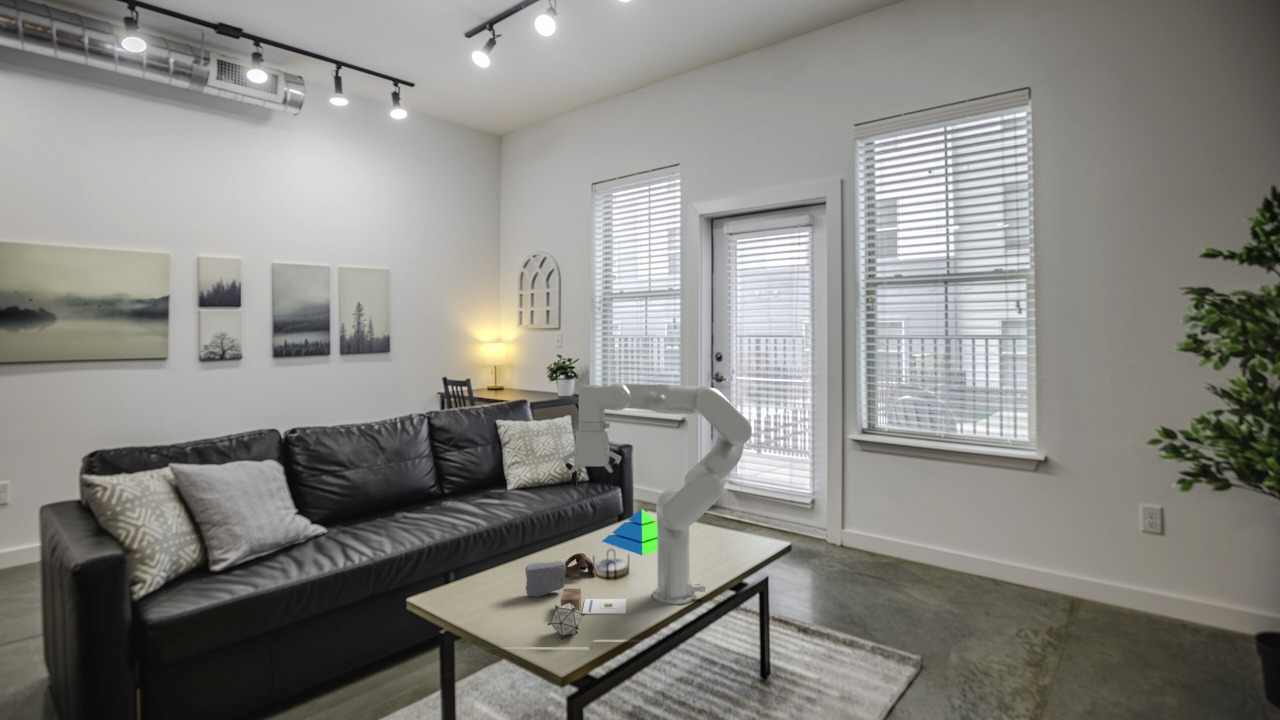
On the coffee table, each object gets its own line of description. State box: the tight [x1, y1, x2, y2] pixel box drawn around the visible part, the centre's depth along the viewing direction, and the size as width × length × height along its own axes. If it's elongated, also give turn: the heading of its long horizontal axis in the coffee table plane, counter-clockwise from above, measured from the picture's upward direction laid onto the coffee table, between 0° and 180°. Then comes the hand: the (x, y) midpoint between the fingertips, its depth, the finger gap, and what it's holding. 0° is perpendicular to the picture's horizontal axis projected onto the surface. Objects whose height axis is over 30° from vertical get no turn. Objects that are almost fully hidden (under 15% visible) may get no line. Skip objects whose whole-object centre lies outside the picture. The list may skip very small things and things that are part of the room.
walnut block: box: [560, 588, 582, 613], centre depth 175 cm, size 5×5×8 cm
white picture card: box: [581, 598, 627, 615], centre depth 178 cm, size 12×10×1 cm
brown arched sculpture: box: [564, 552, 597, 578], centre depth 203 cm, size 12×9×8 cm
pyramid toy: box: [601, 508, 658, 556], centre depth 237 cm, size 25×25×14 cm
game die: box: [546, 600, 586, 640], centre depth 160 cm, size 9×8×10 cm
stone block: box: [524, 560, 566, 598], centre depth 186 cm, size 12×5×10 cm, turn 105°
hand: (591, 485), depth 183 cm, fingers open, 9 cm apart
